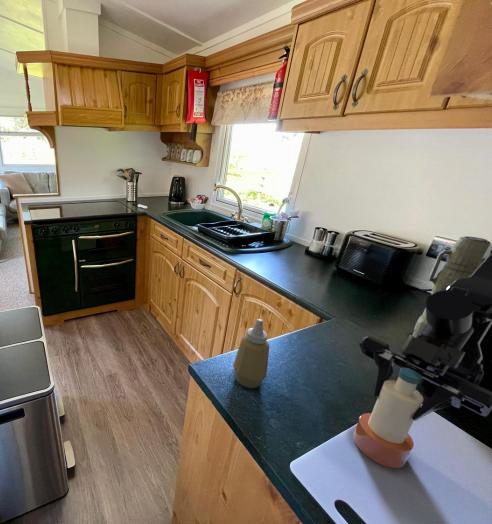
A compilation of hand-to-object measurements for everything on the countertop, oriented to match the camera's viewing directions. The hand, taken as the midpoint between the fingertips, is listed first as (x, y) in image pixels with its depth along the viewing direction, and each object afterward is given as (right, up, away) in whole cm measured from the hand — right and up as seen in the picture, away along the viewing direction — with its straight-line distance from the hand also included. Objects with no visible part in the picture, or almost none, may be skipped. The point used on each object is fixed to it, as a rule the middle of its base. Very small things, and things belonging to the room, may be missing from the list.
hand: (393, 407), depth 54 cm
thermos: (+48, +1, +41) cm, 63 cm away
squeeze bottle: (-20, -4, +21) cm, 29 cm away
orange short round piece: (+1, -10, +4) cm, 11 cm away
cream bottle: (+1, -6, +3) cm, 7 cm away
